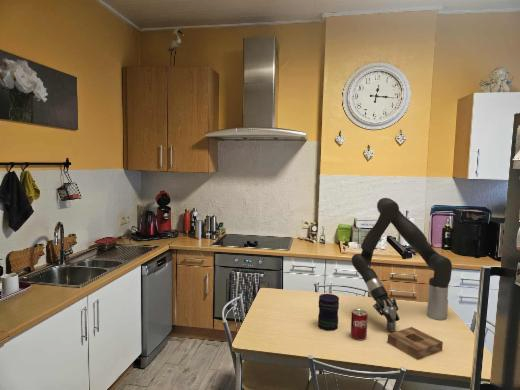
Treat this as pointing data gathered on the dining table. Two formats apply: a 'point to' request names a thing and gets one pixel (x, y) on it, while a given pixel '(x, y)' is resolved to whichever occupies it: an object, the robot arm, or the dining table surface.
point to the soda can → (359, 324)
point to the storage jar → (328, 312)
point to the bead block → (415, 342)
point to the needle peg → (393, 315)
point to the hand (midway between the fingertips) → (394, 321)
